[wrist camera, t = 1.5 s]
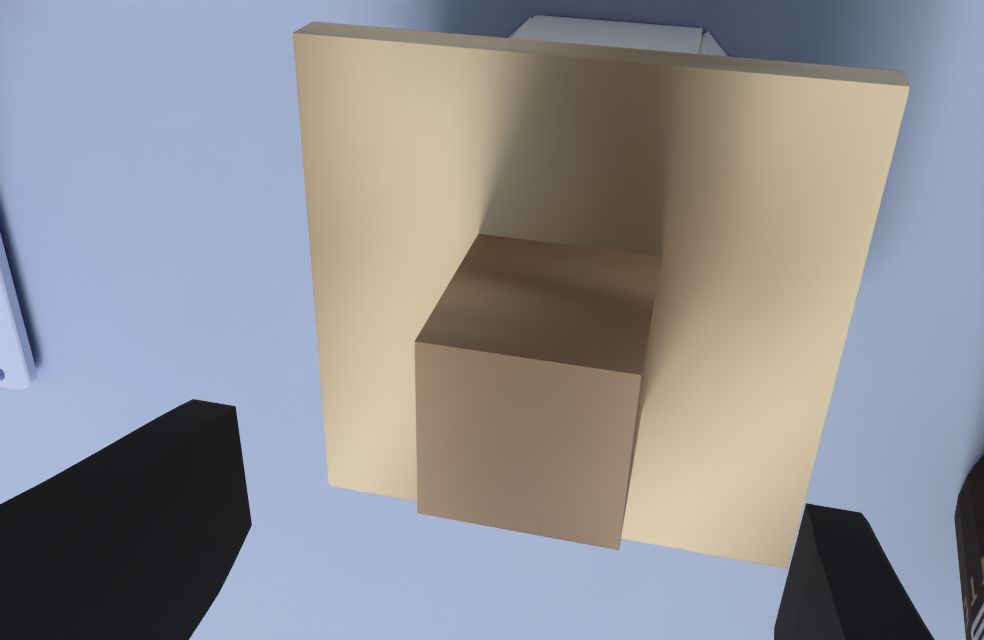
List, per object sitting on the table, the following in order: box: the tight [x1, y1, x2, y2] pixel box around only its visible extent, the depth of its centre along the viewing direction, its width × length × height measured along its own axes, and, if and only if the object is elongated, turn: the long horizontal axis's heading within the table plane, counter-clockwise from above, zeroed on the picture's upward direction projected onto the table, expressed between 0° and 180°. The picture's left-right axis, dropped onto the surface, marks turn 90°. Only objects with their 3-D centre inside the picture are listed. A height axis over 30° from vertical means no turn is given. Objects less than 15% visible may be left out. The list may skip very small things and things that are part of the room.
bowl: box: [508, 15, 728, 57], centre depth 18 cm, size 8×8×4 cm
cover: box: [293, 22, 910, 568], centre depth 15 cm, size 9×9×4 cm
